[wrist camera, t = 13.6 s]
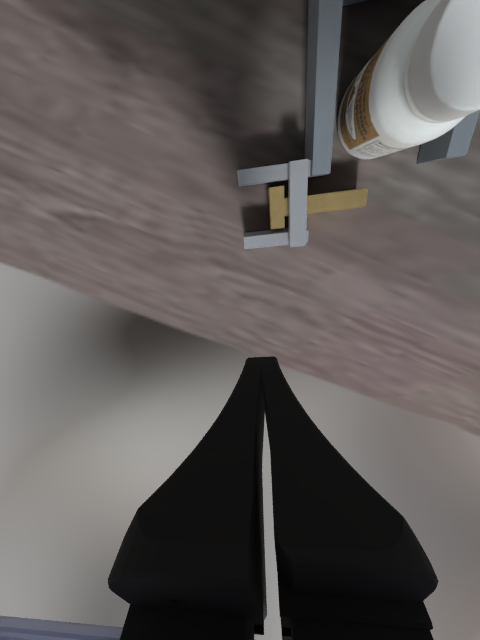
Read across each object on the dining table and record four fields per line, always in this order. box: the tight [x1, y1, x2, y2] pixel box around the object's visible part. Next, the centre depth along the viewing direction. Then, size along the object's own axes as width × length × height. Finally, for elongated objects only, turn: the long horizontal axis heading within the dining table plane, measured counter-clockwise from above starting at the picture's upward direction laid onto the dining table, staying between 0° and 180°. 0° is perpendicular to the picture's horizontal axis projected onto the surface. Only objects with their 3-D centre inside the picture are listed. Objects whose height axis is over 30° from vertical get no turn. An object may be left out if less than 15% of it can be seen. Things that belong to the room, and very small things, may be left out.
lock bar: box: [268, 186, 369, 229], centre depth 15 cm, size 6×2×2 cm, turn 96°
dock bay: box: [237, 0, 480, 249], centre depth 12 cm, size 12×12×3 cm
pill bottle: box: [338, 0, 480, 159], centre depth 10 cm, size 4×4×8 cm
